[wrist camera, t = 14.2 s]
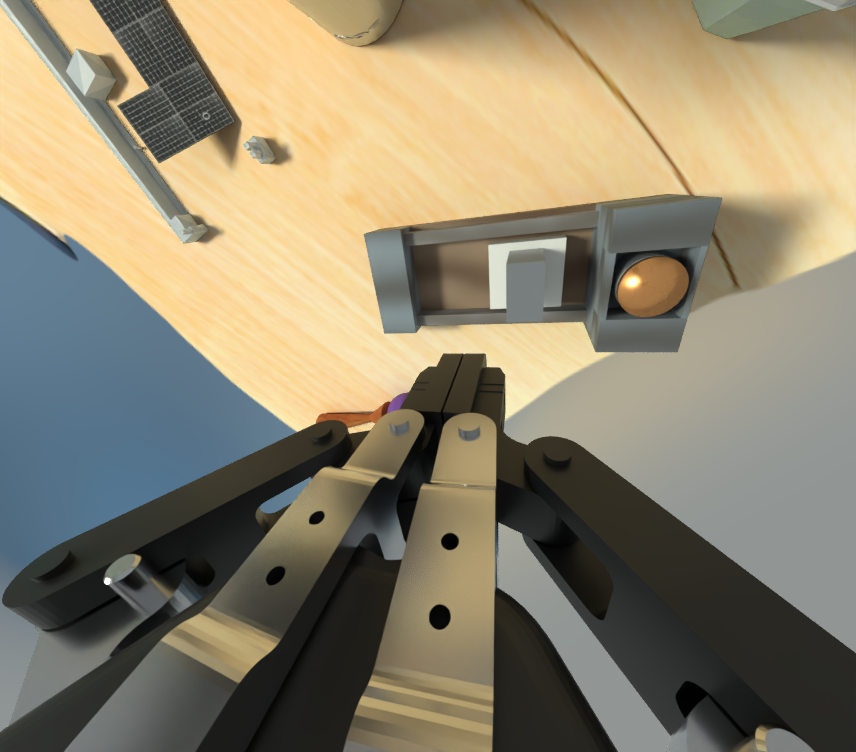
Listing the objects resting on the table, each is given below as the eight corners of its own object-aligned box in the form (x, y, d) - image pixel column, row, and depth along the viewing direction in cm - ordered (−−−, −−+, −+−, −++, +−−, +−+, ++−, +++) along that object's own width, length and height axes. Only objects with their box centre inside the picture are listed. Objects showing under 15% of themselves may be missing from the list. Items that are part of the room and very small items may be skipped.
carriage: (490, 242, 32) (480, 256, 26) (564, 234, 30) (574, 248, 24) (492, 303, 35) (483, 330, 29) (559, 300, 33) (567, 329, 27)
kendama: (304, 415, 50) (410, 400, 41) (328, 400, 55) (428, 383, 46) (318, 448, 52) (423, 440, 42) (341, 430, 57) (439, 420, 47)
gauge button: (612, 251, 26) (623, 260, 23) (676, 246, 24) (696, 254, 22) (604, 304, 28) (613, 317, 25) (663, 301, 27) (679, 316, 24)
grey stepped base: (380, 228, 36) (340, 241, 28) (667, 194, 28) (722, 197, 20) (397, 320, 41) (366, 351, 34) (642, 312, 33) (677, 352, 26)
